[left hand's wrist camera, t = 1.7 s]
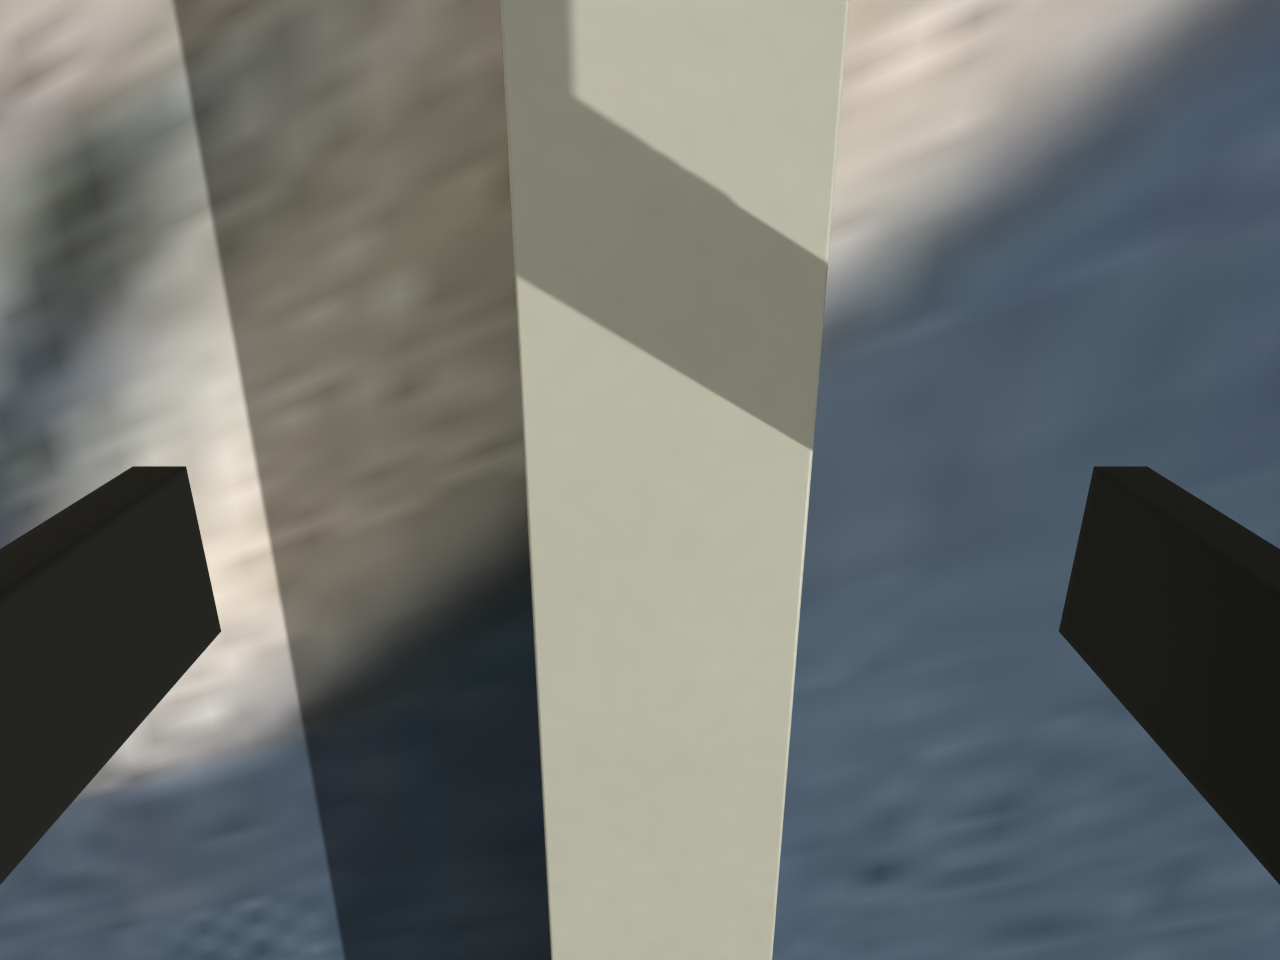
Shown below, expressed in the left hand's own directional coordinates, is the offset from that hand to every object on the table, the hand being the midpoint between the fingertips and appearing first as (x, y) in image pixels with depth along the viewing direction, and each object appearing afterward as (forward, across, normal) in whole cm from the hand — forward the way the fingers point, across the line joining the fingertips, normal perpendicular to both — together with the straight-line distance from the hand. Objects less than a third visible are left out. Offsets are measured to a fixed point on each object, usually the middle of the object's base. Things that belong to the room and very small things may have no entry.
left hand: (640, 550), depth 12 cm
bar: (+10, +1, -24) cm, 26 cm away
